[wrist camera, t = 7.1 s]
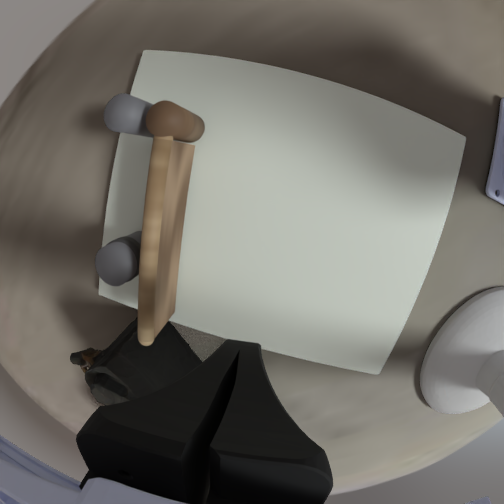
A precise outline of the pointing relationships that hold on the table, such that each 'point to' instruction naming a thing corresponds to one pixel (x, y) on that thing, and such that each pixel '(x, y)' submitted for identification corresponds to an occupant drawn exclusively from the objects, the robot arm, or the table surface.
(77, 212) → the table surface
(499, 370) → the candlestick
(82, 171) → the table surface
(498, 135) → the robot arm
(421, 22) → the table surface
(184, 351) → the film camera
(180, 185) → the brown wooden bar
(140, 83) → the flat white tray
